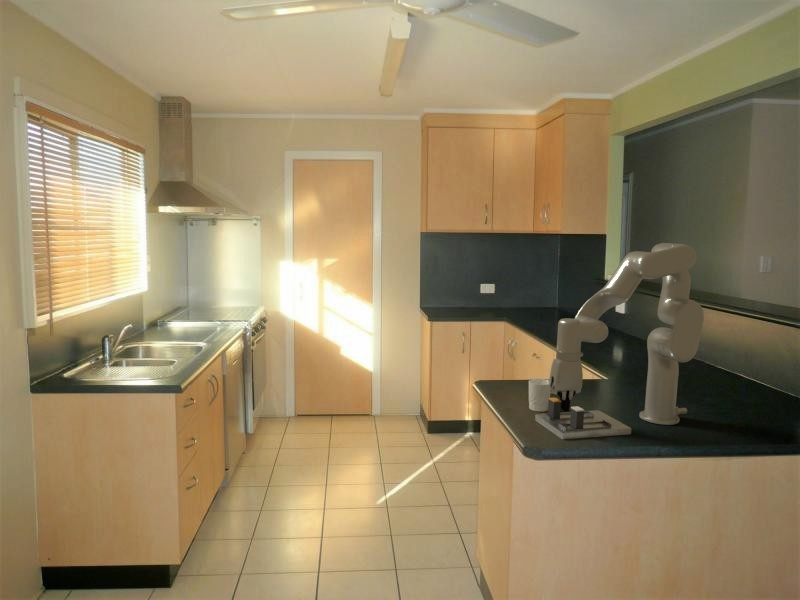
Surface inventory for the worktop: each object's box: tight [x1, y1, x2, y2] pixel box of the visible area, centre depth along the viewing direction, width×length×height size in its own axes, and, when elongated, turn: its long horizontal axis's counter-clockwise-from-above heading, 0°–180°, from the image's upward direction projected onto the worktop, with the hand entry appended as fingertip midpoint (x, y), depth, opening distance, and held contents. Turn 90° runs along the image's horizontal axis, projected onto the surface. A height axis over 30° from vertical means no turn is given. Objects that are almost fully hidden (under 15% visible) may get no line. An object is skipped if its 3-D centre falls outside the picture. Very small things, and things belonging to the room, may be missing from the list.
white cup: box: [528, 378, 552, 413], centre depth 209 cm, size 8×8×10 cm
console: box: [534, 409, 632, 440], centre depth 191 cm, size 24×18×3 cm
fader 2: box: [570, 405, 585, 429], centre depth 185 cm, size 2×4×6 cm
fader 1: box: [547, 397, 561, 419], centre depth 194 cm, size 2×4×6 cm
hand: (564, 410), depth 195 cm, fingers closed
